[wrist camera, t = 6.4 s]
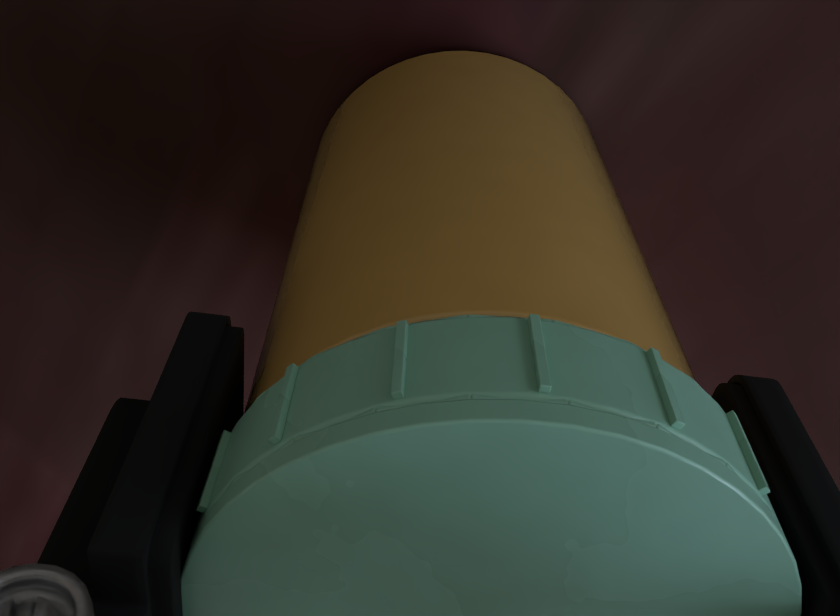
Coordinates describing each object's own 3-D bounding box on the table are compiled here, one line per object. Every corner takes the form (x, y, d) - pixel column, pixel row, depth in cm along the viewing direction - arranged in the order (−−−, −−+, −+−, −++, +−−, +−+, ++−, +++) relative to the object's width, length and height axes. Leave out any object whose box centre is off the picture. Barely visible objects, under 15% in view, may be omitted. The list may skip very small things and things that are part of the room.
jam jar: (533, 334, 20) (610, 769, 11) (286, 269, 19) (170, 696, 10) (650, 102, 16) (890, 488, 8) (353, 6, 15) (260, 333, 7)
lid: (272, 232, 8) (234, 331, 6) (876, 406, 9) (952, 522, 7) (176, 619, 11) (141, 731, 10) (604, 706, 12) (622, 817, 11)
